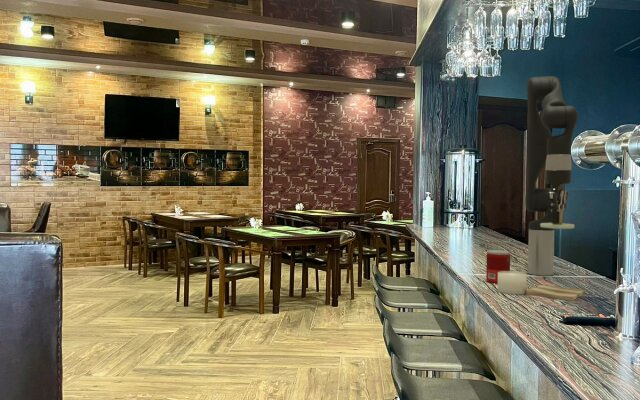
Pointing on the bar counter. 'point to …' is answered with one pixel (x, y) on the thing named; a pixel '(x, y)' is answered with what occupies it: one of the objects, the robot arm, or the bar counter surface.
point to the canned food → (496, 264)
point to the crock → (512, 282)
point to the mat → (556, 292)
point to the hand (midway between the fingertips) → (557, 222)
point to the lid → (560, 224)
